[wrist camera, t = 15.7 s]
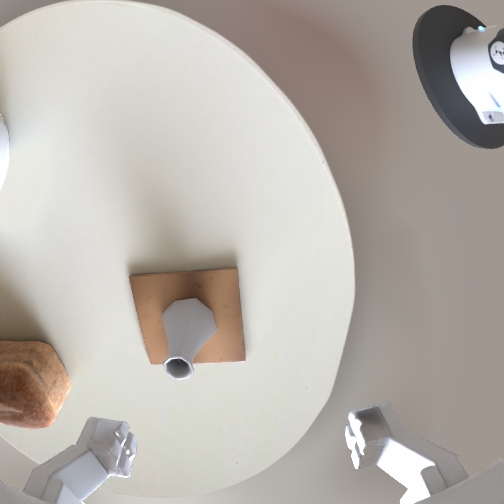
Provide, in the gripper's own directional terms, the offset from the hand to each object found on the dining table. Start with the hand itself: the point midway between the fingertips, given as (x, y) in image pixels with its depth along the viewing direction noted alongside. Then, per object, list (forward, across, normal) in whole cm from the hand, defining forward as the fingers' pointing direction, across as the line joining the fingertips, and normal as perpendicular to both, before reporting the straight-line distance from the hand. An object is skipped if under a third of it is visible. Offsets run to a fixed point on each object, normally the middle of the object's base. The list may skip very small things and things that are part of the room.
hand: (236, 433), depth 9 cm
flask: (+28, +8, +11) cm, 31 cm away
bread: (+27, +44, +20) cm, 55 cm away
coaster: (+28, +8, +11) cm, 31 cm away
